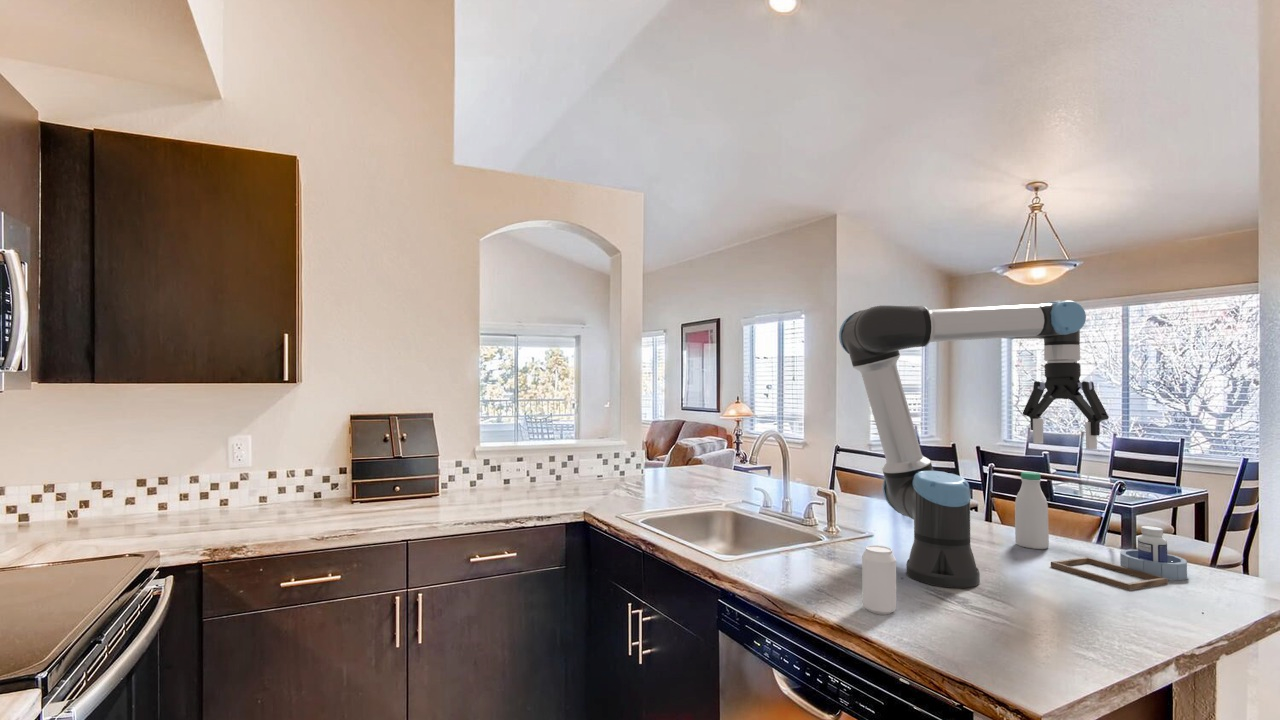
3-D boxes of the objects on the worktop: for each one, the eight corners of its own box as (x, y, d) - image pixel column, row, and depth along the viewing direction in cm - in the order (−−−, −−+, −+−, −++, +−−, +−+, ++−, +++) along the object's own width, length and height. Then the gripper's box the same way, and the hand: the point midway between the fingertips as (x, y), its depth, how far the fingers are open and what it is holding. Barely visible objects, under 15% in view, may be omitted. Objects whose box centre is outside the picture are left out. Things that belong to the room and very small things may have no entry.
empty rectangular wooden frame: (1129, 590, 132) (1129, 584, 132) (1050, 566, 149) (1050, 561, 149) (1167, 583, 137) (1167, 578, 137) (1086, 561, 153) (1086, 556, 153)
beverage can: (894, 618, 116) (893, 554, 116) (860, 612, 119) (859, 550, 119) (898, 608, 121) (897, 547, 122) (865, 602, 124) (864, 542, 125)
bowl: (1165, 582, 138) (1165, 566, 138) (1109, 567, 149) (1108, 552, 149) (1199, 576, 142) (1199, 561, 142) (1141, 562, 153) (1141, 547, 153)
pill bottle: (1163, 567, 147) (1162, 526, 147) (1171, 574, 142) (1170, 531, 142) (1135, 564, 149) (1134, 524, 149) (1142, 570, 144) (1141, 529, 144)
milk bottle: (1054, 550, 163) (1052, 475, 164) (1022, 549, 165) (1020, 474, 165) (1041, 543, 171) (1040, 471, 171) (1010, 541, 172) (1009, 470, 173)
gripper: (1125, 361, 145) (1127, 451, 144) (1027, 363, 168) (1028, 441, 168) (1103, 360, 142) (1105, 452, 142) (1007, 363, 166) (1008, 441, 165)
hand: (1063, 446), depth 155 cm, fingers open, 13 cm apart
